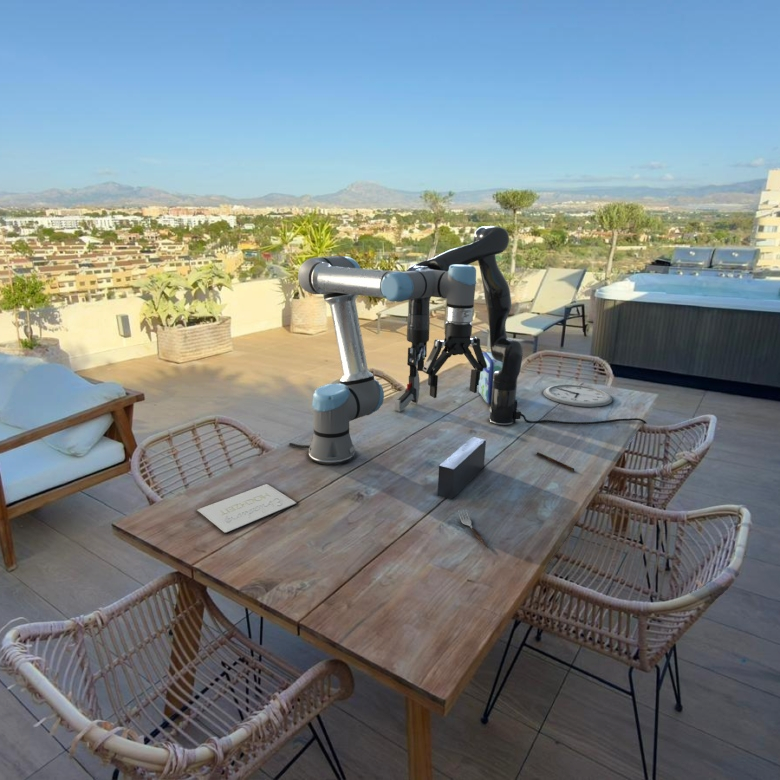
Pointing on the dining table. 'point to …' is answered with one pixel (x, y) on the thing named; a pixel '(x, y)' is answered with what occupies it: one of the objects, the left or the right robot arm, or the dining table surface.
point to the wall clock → (577, 395)
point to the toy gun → (409, 394)
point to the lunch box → (488, 376)
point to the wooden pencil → (555, 461)
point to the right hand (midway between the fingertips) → (416, 373)
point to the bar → (461, 467)
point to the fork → (468, 522)
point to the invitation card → (246, 507)
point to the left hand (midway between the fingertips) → (453, 394)
